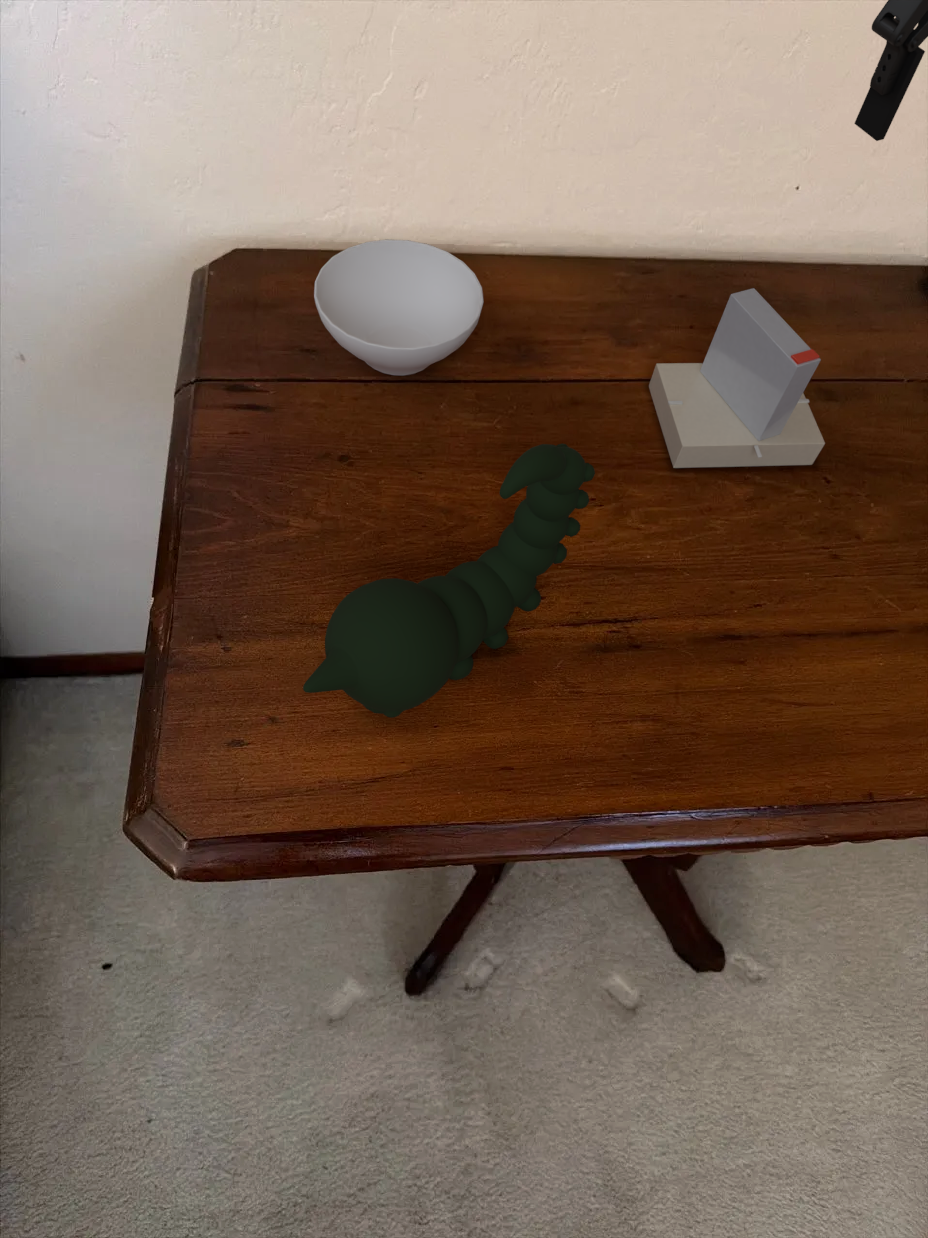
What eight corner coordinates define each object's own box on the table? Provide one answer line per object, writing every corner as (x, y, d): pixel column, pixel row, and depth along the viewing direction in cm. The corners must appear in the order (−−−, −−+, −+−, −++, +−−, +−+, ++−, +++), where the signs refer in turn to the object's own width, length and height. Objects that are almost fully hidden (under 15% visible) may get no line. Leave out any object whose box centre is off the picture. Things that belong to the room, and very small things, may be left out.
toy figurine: (497, 552, 78) (264, 704, 66) (545, 383, 63) (254, 540, 51) (573, 621, 75) (343, 794, 63) (643, 461, 60) (358, 648, 48)
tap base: (775, 373, 92) (787, 349, 89) (818, 477, 84) (832, 454, 82) (643, 374, 90) (652, 350, 87) (676, 481, 83) (686, 458, 80)
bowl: (309, 302, 91) (305, 241, 86) (460, 294, 94) (466, 235, 88) (327, 413, 83) (323, 354, 77) (491, 400, 86) (499, 343, 80)
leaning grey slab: (699, 370, 86) (731, 291, 79) (721, 364, 87) (755, 285, 79) (758, 441, 82) (798, 364, 74) (780, 434, 83) (822, 357, 75)
